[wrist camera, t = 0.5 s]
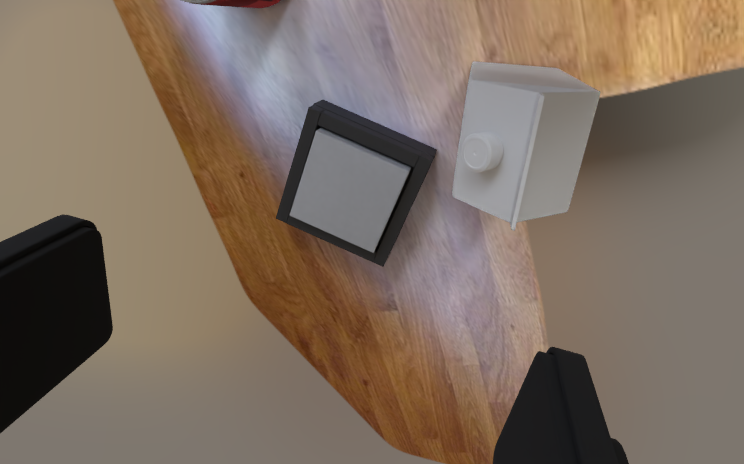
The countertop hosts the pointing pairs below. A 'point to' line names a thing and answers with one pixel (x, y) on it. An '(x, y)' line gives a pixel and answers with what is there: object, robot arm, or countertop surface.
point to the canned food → (236, 3)
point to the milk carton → (522, 140)
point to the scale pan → (348, 189)
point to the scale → (373, 139)
